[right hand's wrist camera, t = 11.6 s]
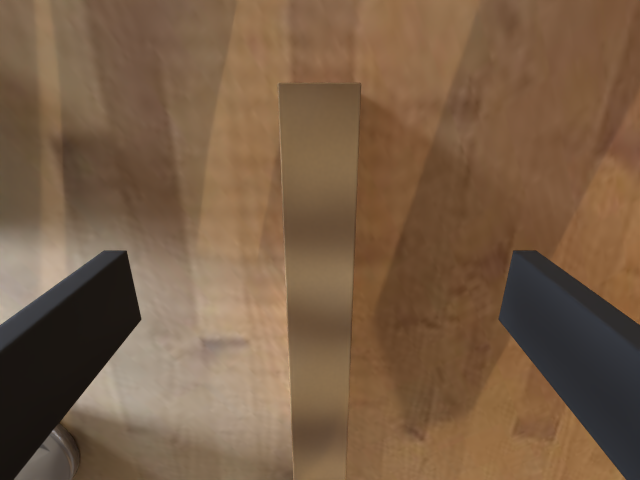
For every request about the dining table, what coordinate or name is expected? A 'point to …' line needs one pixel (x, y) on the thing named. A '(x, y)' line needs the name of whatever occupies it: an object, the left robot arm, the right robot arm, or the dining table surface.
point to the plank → (319, 266)
